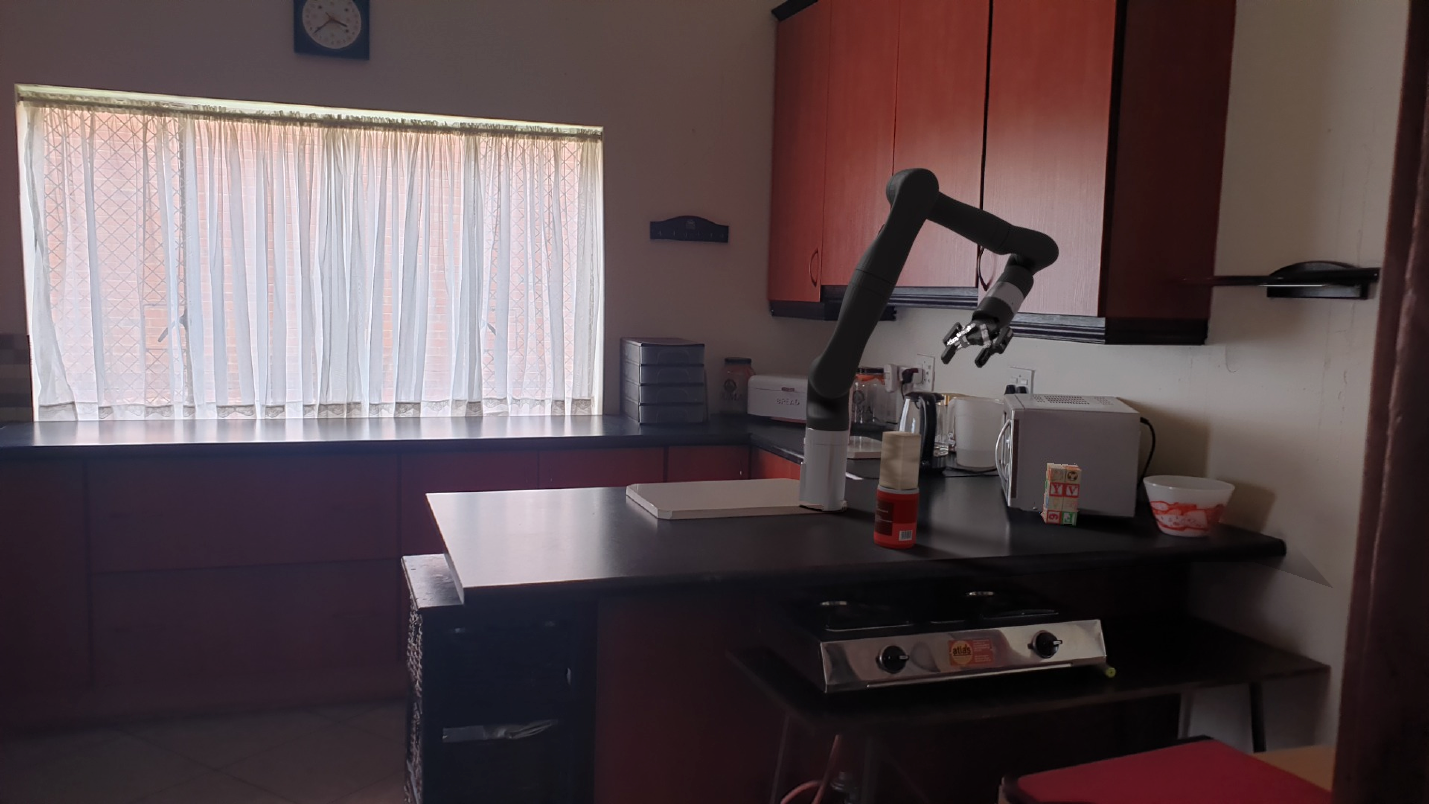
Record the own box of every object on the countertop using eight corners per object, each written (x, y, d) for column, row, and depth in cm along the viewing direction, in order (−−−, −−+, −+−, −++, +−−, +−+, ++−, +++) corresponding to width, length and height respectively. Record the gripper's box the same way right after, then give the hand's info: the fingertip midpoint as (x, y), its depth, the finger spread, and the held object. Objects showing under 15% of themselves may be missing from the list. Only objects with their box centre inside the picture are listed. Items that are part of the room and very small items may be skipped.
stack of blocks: (1032, 503, 233) (1037, 451, 232) (1060, 506, 232) (1065, 453, 231) (1045, 523, 212) (1051, 466, 211) (1076, 526, 211) (1082, 469, 210)
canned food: (919, 542, 189) (923, 485, 187) (908, 551, 181) (913, 492, 180) (880, 536, 192) (884, 480, 191) (868, 545, 185) (872, 486, 183)
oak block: (879, 485, 186) (882, 432, 185) (896, 482, 189) (900, 430, 188) (899, 490, 182) (903, 436, 181) (917, 487, 185) (921, 434, 184)
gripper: (963, 294, 213) (925, 348, 207) (1020, 296, 202) (981, 353, 196) (977, 319, 217) (940, 373, 211) (1034, 322, 206) (996, 379, 200)
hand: (960, 363), depth 204 cm, fingers open, 8 cm apart
